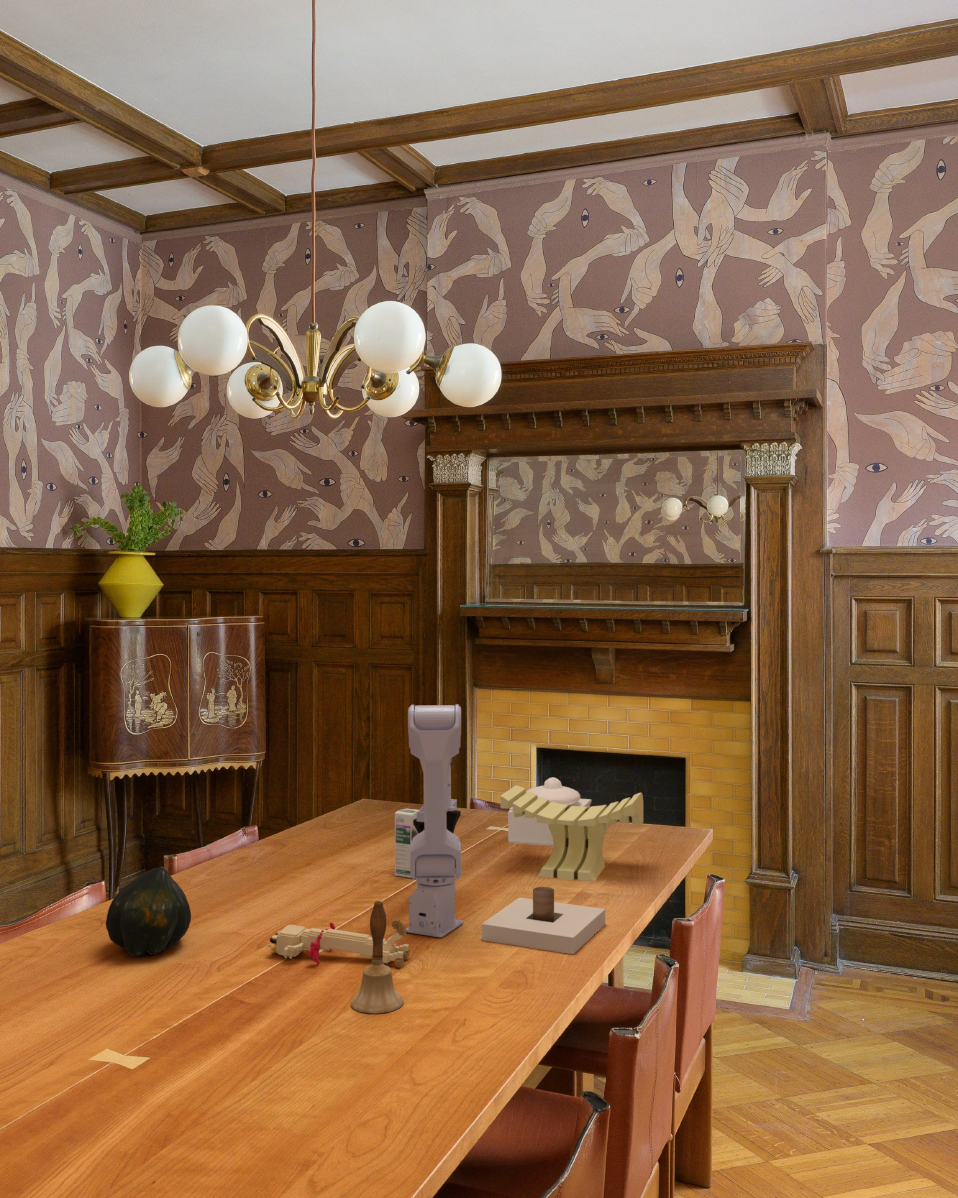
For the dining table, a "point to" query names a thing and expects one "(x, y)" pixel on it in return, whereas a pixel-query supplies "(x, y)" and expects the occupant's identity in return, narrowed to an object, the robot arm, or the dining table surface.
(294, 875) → the dining table surface
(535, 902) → the peg
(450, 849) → the robot arm
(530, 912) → the socket board
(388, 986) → the hand bell
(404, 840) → the syrup box
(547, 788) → the butter dish
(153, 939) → the squash
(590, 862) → the slatted curved stool
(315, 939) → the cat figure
